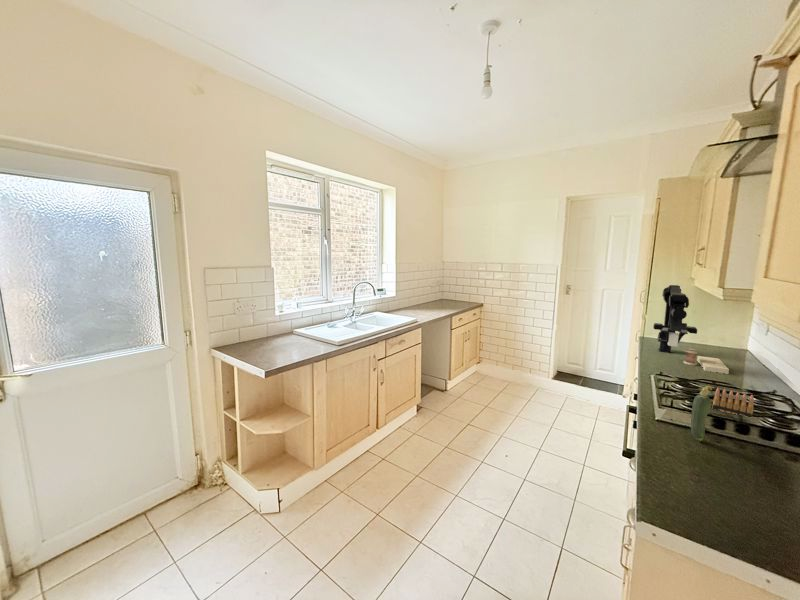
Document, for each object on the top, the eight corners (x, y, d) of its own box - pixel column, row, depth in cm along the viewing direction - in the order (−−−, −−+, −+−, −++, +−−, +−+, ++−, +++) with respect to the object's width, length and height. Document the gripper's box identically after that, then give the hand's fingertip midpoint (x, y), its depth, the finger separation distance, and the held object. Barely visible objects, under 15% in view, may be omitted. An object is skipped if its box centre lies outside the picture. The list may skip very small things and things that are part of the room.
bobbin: (682, 361, 186) (683, 348, 184) (696, 363, 182) (697, 349, 181) (684, 364, 181) (685, 350, 179) (698, 366, 177) (700, 352, 176)
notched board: (697, 360, 187) (697, 355, 187) (718, 363, 182) (718, 358, 182) (704, 370, 171) (705, 366, 170) (728, 374, 166) (728, 369, 165)
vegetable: (685, 437, 111) (692, 383, 108) (692, 434, 112) (699, 380, 109) (701, 444, 107) (709, 388, 103) (708, 441, 108) (716, 385, 105)
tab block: (667, 343, 186) (669, 332, 185) (676, 345, 184) (678, 333, 183) (668, 345, 183) (669, 333, 182) (677, 346, 181) (678, 334, 180)
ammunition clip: (750, 425, 118) (756, 394, 116) (751, 427, 117) (756, 396, 115) (710, 414, 125) (715, 386, 124) (710, 416, 124) (714, 387, 122)
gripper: (655, 316, 180) (652, 343, 182) (700, 320, 169) (696, 349, 172) (654, 313, 189) (651, 338, 191) (697, 317, 178) (693, 344, 180)
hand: (672, 342), depth 183 cm, fingers closed on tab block, 4 cm apart
